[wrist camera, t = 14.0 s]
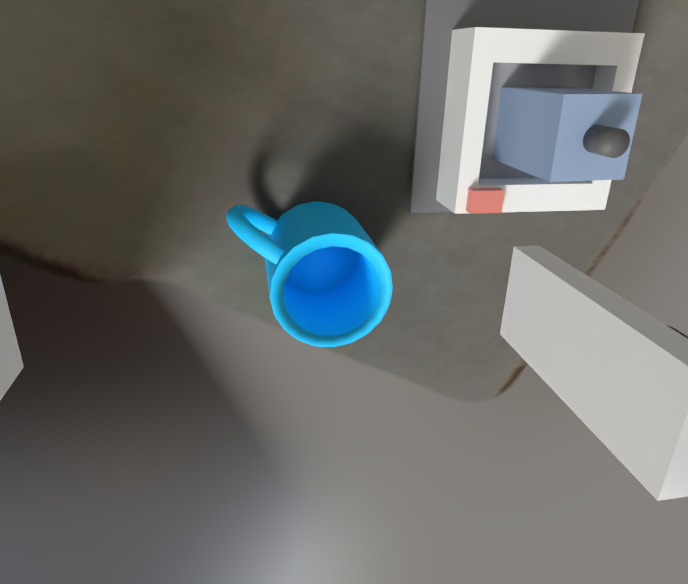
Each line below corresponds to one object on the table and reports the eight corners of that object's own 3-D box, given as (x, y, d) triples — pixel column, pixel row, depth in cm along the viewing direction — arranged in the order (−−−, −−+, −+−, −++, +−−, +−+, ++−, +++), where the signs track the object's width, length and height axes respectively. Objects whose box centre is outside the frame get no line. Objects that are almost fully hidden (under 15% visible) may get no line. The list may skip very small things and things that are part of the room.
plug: (501, 87, 37) (584, 96, 28) (566, 86, 38) (667, 96, 29) (492, 159, 39) (568, 189, 30) (554, 157, 40) (646, 186, 31)
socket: (429, -56, 35) (458, -74, 30) (644, -42, 38) (702, -56, 33) (409, 211, 42) (430, 231, 37) (591, 207, 45) (632, 224, 40)
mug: (386, 236, 43) (416, 274, 35) (328, 315, 45) (345, 366, 37) (258, 150, 38) (263, 173, 31) (200, 241, 40) (191, 283, 33)
